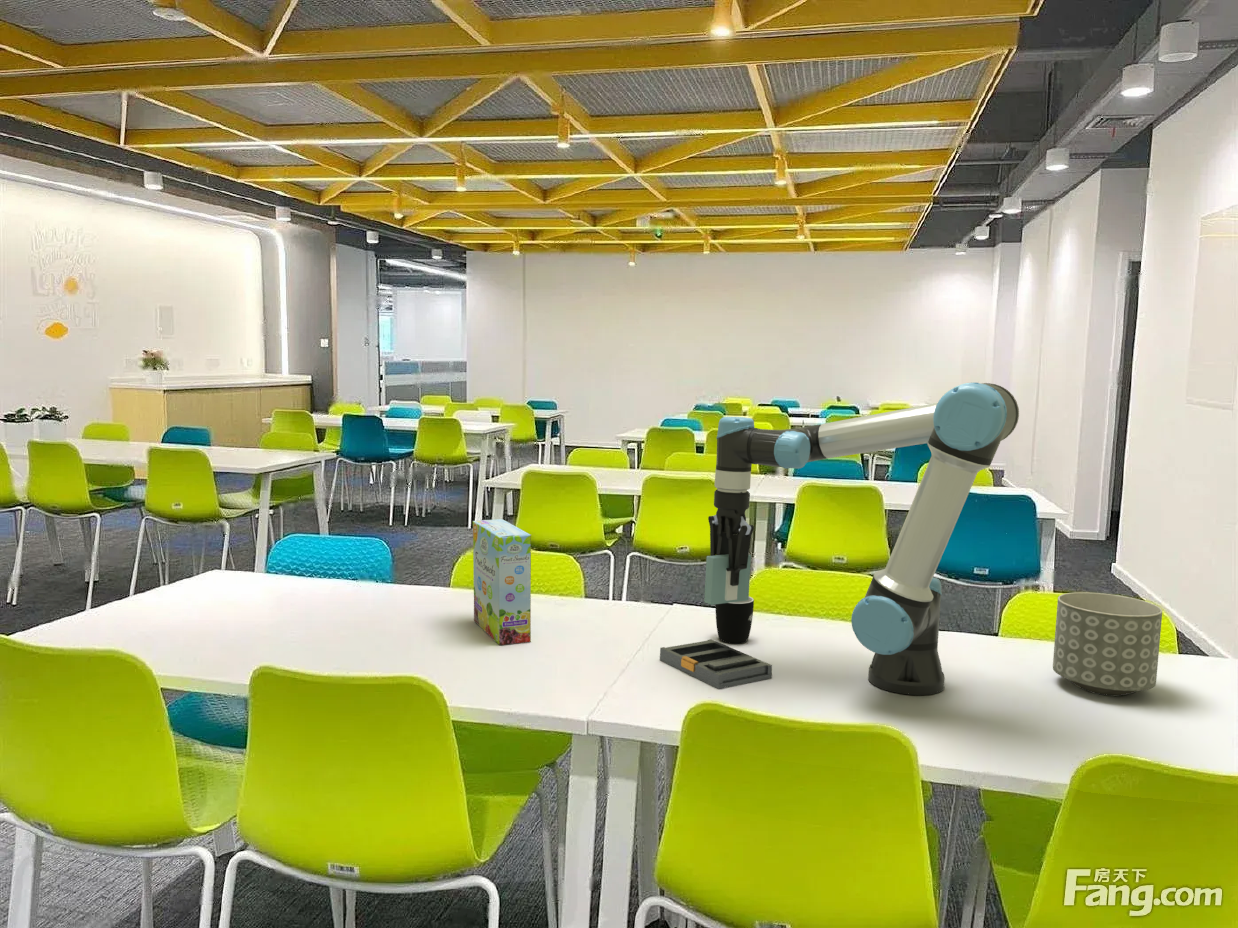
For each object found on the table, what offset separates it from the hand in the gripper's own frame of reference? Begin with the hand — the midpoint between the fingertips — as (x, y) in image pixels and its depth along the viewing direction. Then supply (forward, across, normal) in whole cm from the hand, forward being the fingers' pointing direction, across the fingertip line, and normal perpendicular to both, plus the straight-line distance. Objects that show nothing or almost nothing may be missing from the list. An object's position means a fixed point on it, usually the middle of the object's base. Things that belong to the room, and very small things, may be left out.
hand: (726, 597), depth 200 cm
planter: (+14, -47, -63) cm, 79 cm away
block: (+1, 0, 0) cm, 1 cm away
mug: (+15, +16, -14) cm, 26 cm away
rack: (+15, -1, +3) cm, 15 cm away
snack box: (+16, +44, +34) cm, 58 cm away
